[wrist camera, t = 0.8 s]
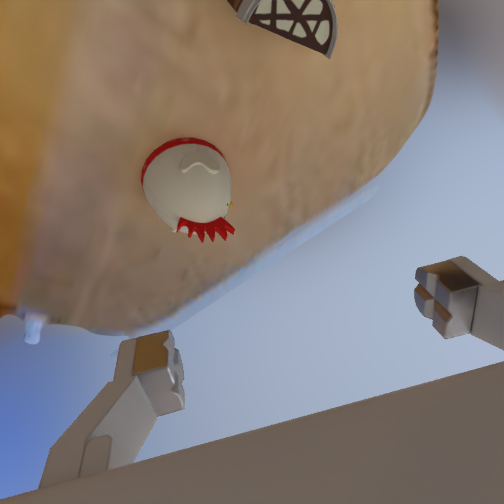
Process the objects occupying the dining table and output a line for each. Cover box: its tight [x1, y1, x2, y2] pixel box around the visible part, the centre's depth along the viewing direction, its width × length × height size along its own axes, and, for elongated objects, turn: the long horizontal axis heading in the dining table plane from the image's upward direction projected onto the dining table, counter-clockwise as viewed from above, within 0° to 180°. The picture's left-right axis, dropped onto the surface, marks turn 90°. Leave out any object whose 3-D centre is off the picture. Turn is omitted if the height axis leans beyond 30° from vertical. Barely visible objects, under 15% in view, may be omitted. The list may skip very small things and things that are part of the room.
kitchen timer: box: [141, 138, 235, 243], centre depth 57 cm, size 14×14×15 cm
